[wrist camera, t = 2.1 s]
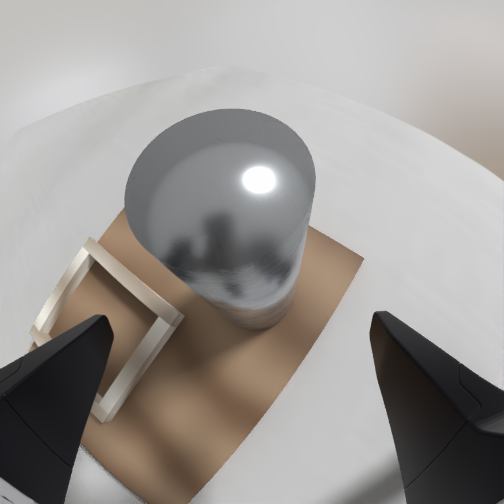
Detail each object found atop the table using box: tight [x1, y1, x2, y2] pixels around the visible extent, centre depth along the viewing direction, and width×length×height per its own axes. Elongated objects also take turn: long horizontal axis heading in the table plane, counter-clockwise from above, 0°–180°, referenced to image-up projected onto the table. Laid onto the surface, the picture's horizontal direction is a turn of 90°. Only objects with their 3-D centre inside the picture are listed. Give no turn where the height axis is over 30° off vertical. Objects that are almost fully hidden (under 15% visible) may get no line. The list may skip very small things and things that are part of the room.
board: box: [29, 207, 364, 504], centre depth 19 cm, size 24×18×2 cm
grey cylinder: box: [125, 109, 316, 330], centre depth 13 cm, size 5×5×13 cm
